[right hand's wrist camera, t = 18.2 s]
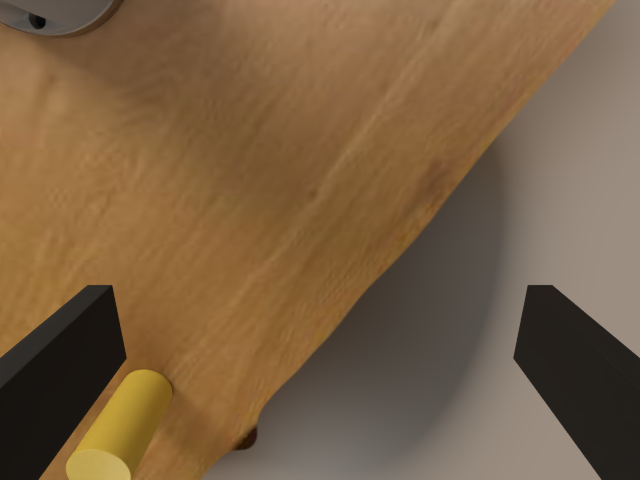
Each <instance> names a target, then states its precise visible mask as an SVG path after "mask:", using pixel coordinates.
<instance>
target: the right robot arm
mask: <svg viewBox="0 0 640 480" xmlns="http://www.w3.org/2000/svg"><path fill="white" fill-rule="evenodd" d="M123 1H124V0H0V22H1V23H3V24H5V25H7V26H9V27H12V28H14V29H17V30H20V31H23V32H27V33H31V34H36V35H41V36H46V37H54V38H68V37H75V36H79V35H83V34H85V33H88V32H90V31H93V30H94V29H96V28H98V27H100V26H101V25H102V24H104V23H105V22H106V21H107V20H109V19H110V18H111V17H112V16H113V15H114V13H115V12H116V11H117V10H118V8H119V7H120V5H121V4H122V2H123ZM126 358H127V357H126V352H125V347H124V342H123V337H122V332H121V327H120V322H119V317H118V312H117V307H116V302H115V297H114V292H113V287H112V285H87V286H86V287H85V288H84V289H83V290H81V291H80V292H79V293H78V294H77V295H75V296H74V297H73V298H72V299H71V300H69V301H68V302H67V303H66V304H65V305H63V306H62V307H61V308H60V309H59V310H57V311H56V312H55V313H54V314H53V315H51V316H50V317H49V318H48V319H47V320H45V321H44V322H43V323H42V324H41V325H39V326H38V327H37V328H36V329H35V330H33V331H32V332H31V333H30V334H29V335H27V336H26V337H25V338H24V339H23V340H21V341H20V342H19V343H18V344H16V345H15V346H14V347H13V348H12V349H10V350H9V351H8V352H7V353H6V354H4V355H3V356H2V357H1V358H0V480H39V478H40V477H41V475H42V474H43V473H44V471H45V470H46V469H47V467H48V466H49V464H50V463H51V462H52V460H53V459H54V458H55V456H56V455H57V453H58V452H59V451H60V449H61V448H62V447H63V445H64V444H65V442H66V441H67V440H68V438H69V437H70V436H71V434H72V433H73V431H74V430H75V429H76V427H77V426H78V424H79V423H80V422H81V420H82V419H83V418H84V416H85V415H86V413H87V412H88V411H89V409H90V408H91V407H92V405H93V404H94V402H95V401H96V400H97V398H98V397H99V396H100V394H101V393H102V391H103V390H104V389H105V387H106V386H107V385H108V383H109V382H110V380H111V379H112V378H113V376H114V375H115V374H116V372H117V371H118V369H119V368H120V367H121V365H122V364H123V363H124V361H125V360H126ZM513 358H514V360H515V361H516V363H517V364H518V365H519V367H520V368H521V369H522V371H523V372H524V374H525V375H526V376H527V378H528V379H529V380H530V382H531V383H532V385H533V386H534V387H535V389H536V390H537V391H538V393H539V394H540V396H541V397H542V398H543V400H544V401H545V402H546V404H547V405H548V407H549V408H550V409H551V411H552V412H553V413H554V415H555V416H556V418H557V419H558V420H559V422H560V423H561V424H562V426H563V427H564V429H565V430H566V431H567V433H568V434H569V435H570V437H571V438H572V440H573V441H574V442H575V444H576V445H577V447H578V448H579V449H580V450H581V452H582V453H583V455H584V456H585V458H586V459H587V460H588V462H589V463H590V464H591V466H592V467H593V469H594V470H595V471H596V473H597V474H598V475H599V477H600V478H601V480H640V358H639V357H638V356H637V355H636V354H634V353H633V352H632V351H631V350H630V349H628V348H627V347H626V346H625V345H624V344H622V343H621V342H620V341H619V340H617V339H616V338H615V337H614V336H613V335H611V334H610V333H609V332H608V331H607V330H605V329H604V328H603V327H602V326H601V325H599V324H598V323H597V322H596V321H595V320H593V319H592V318H591V317H590V316H589V315H587V314H586V313H585V312H584V311H583V310H581V309H580V308H579V307H578V306H577V305H575V304H574V303H573V302H572V301H571V300H569V299H568V298H567V297H566V296H565V295H563V294H562V293H561V292H560V291H559V290H557V289H556V288H555V287H554V286H553V285H528V287H527V292H526V297H525V302H524V307H523V312H522V317H521V322H520V327H519V332H518V337H517V342H516V347H515V352H514V357H513Z"/></svg>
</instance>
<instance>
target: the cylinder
mask: <svg viewBox="0 0 640 480" xmlns="http://www.w3.org/2000/svg"><path fill="white" fill-rule="evenodd" d="M172 395H173V391H172V387H171V384H170V383H169V381H168V380H167V379H166V378H165V377H164V376H163V375H161V374H160V373H158V372H155V371H152V370H145V369H142V370H136V371H133V372H131V373H130V374H128V375H127V376H126V377H125V378H124V380H123V381H122V383H121V384H120V386H119V387H118V389H117V390H116V391H115V393H114V394H113V396H112V397H111V399H110V400H109V402H108V403H107V405H106V406H105V407H104V409H103V410H102V412H101V413H100V415H99V416H98V418H97V419H96V420H95V422H94V423H93V425H92V426H91V428H90V429H89V431H88V432H87V433H86V435H85V436H84V438H83V439H82V441H81V442H80V444H79V445H78V447H77V448H76V449H75V451H74V452H73V454H72V455H71V457H70V458H69V460H68V462H67V464H66V473H67V476H68V478H69V480H132V479H133V477H134V475H135V473H136V471H137V468H138V466H139V464H140V462H141V460H142V458H143V456H144V454H145V452H146V450H147V448H148V446H149V444H150V442H151V440H152V438H153V436H154V434H155V432H156V430H157V428H158V426H159V424H160V422H161V419H162V417H163V415H164V413H165V411H166V409H167V407H168V405H169V403H170V401H171V399H172Z"/></svg>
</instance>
